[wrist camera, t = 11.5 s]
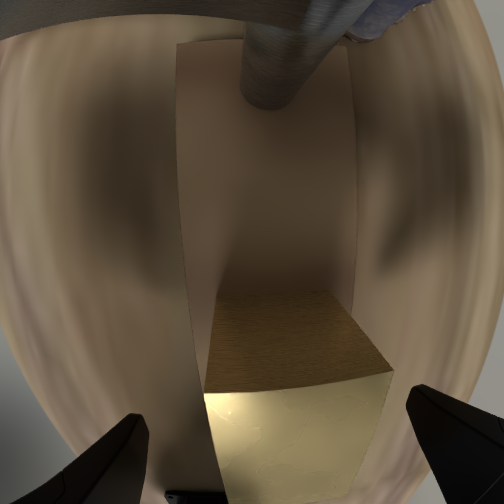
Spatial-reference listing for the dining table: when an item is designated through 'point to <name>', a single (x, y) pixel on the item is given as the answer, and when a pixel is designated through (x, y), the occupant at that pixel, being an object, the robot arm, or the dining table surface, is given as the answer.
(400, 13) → the flask
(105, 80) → the dining table surface
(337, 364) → the light wooden cube
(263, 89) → the lever
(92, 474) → the robot arm
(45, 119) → the dining table surface
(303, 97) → the plane body
